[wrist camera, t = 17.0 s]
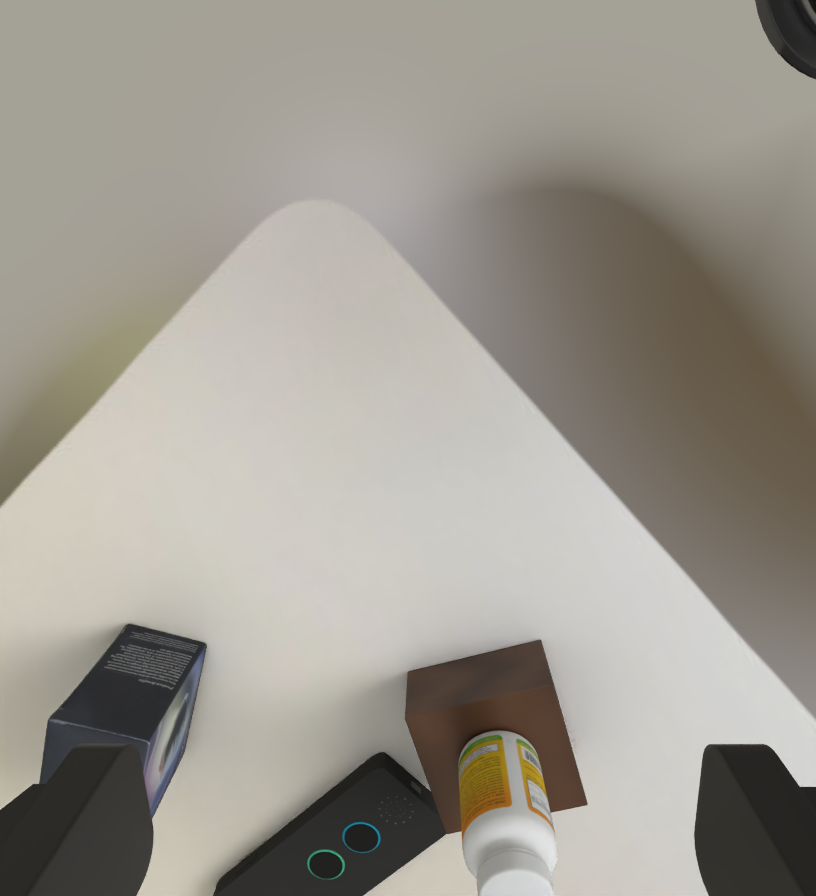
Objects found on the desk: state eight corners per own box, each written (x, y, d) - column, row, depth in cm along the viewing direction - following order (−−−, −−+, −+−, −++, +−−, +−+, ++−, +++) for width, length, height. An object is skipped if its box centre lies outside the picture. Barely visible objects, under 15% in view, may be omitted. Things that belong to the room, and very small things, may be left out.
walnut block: (540, 639, 46) (553, 683, 41) (572, 751, 48) (588, 805, 43) (407, 671, 47) (404, 718, 42) (445, 779, 49) (446, 834, 45)
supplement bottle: (449, 784, 43) (454, 927, 34) (468, 720, 42) (478, 850, 33) (527, 800, 44) (552, 947, 34) (548, 736, 42) (580, 871, 33)
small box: (189, 757, 50) (127, 882, 40) (107, 736, 49) (24, 857, 39) (212, 642, 47) (152, 746, 37) (125, 620, 47) (40, 719, 36)
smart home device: (455, 831, 49) (280, 960, 53) (455, 812, 50) (285, 939, 55) (378, 764, 47) (204, 903, 52) (380, 747, 49) (212, 883, 53)
